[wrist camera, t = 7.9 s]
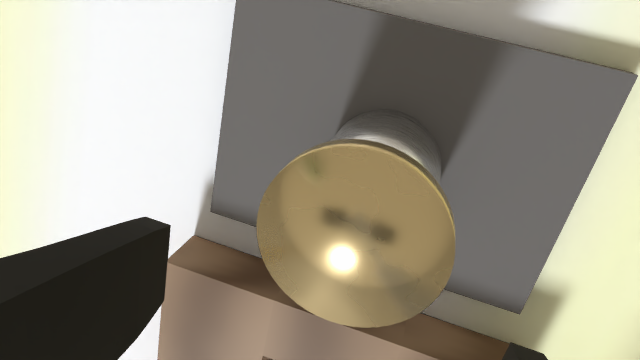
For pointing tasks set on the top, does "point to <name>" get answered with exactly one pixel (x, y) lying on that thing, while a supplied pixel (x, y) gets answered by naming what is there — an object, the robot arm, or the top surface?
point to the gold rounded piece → (361, 223)
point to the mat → (433, 112)
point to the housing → (283, 319)
